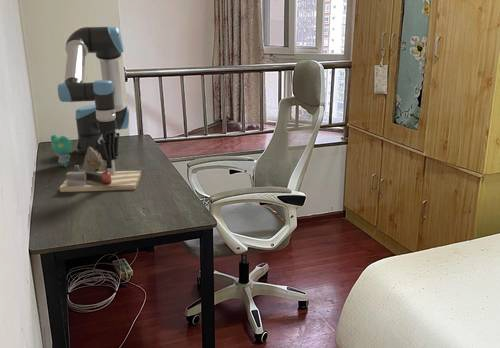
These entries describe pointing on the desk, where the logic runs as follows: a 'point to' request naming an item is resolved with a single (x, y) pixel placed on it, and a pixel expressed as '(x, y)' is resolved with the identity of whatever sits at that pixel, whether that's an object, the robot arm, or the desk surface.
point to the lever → (97, 176)
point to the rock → (93, 161)
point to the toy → (61, 148)
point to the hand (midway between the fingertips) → (111, 174)
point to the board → (118, 182)
